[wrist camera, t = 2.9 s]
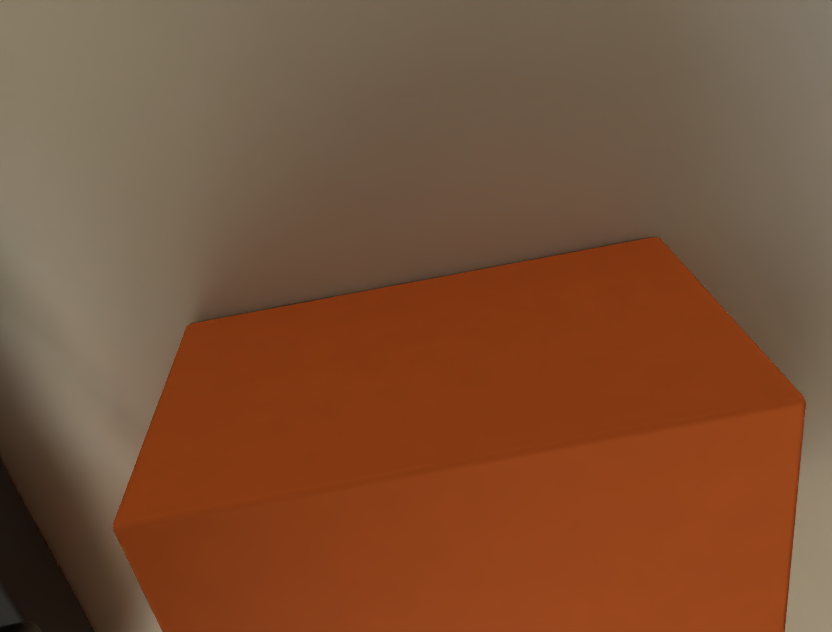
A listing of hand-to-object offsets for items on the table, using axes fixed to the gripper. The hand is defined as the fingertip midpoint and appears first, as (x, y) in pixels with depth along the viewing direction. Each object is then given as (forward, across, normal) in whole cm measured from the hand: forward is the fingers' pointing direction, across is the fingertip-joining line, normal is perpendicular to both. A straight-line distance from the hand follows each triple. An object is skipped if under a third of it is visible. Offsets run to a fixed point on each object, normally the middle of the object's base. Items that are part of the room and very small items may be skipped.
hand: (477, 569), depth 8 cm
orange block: (+2, 0, 0) cm, 2 cm away
